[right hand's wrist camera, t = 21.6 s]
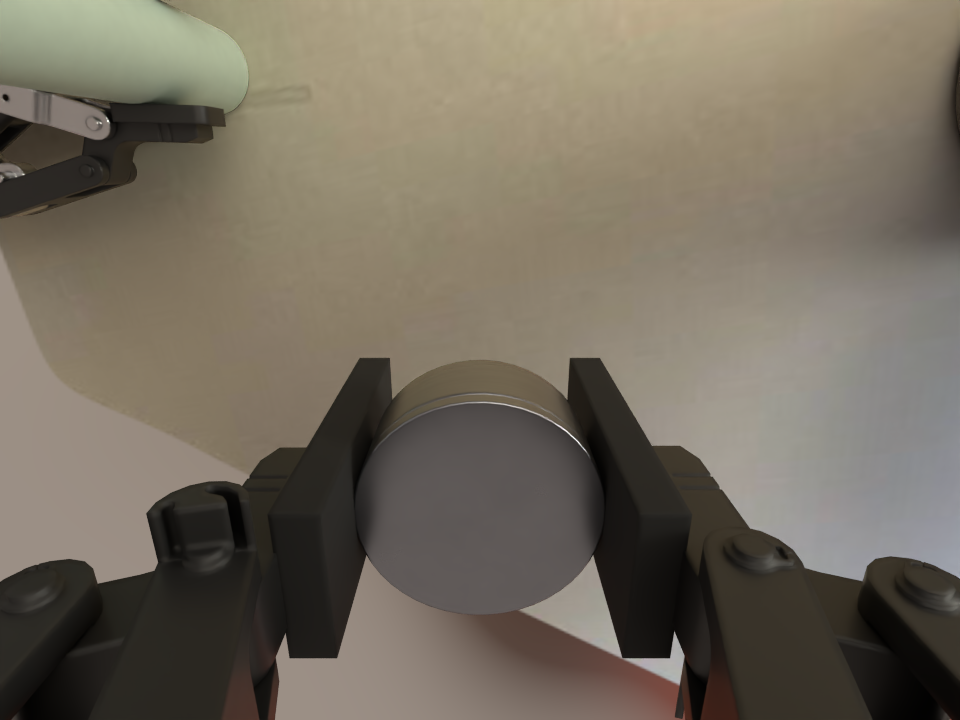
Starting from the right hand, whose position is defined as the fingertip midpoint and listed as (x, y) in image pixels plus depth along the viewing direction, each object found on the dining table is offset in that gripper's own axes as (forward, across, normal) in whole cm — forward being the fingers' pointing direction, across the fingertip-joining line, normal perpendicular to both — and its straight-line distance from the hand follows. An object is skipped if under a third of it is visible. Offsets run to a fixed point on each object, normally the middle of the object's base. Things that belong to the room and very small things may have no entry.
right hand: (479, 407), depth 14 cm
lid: (-4, 0, 0) cm, 4 cm away
